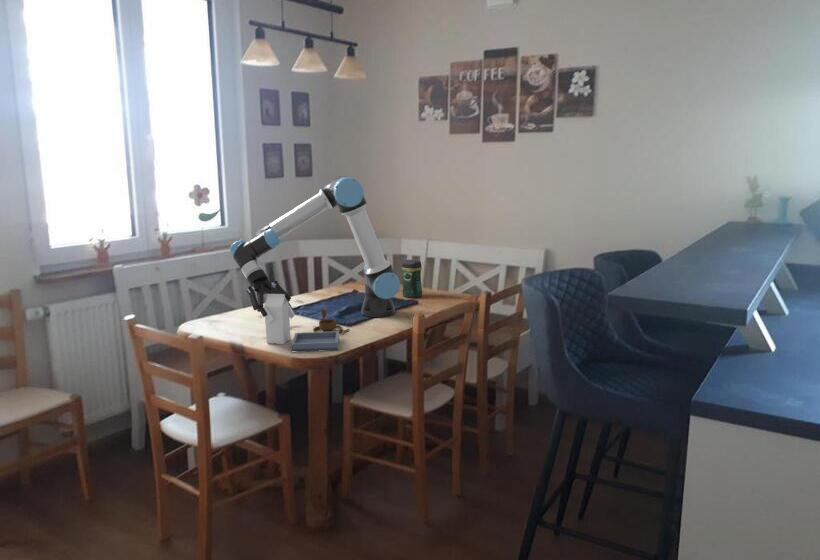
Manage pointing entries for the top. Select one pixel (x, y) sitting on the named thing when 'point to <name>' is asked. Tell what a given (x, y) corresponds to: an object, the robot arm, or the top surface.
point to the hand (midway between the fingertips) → (282, 319)
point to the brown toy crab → (328, 324)
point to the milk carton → (277, 319)
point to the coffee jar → (412, 278)
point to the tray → (315, 341)
